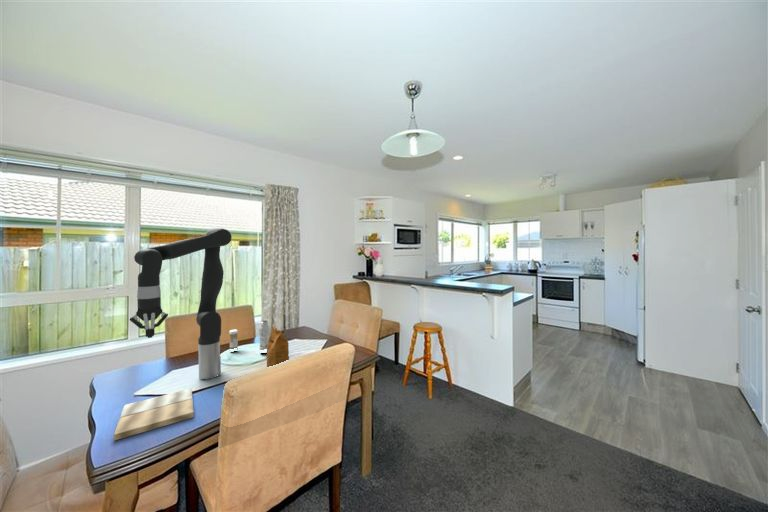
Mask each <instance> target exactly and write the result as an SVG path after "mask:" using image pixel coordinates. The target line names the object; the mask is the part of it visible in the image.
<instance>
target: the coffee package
mask: <svg viewBox="0 0 768 512" xmlns="http://www.w3.org/2000/svg"><path fill="white" fill-rule="evenodd" d="M284 333H285V331H284V330H281V329H278V328H277V327H276V326H273V327H272V330H271V331H270V337H269V340H268V346H267V354H265V355H266V368H267V367H269V366H273V365H276V364H279V363H281V362H284V361H286V360H289V361H290V356H289V350H290V349H289V346H290V345H289V341H288V339H287V338H286V337H285V335H284Z"/></svg>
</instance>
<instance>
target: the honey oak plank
mask: <svg viewBox="0 0 768 512" xmlns="http://www.w3.org/2000/svg"><path fill="white" fill-rule="evenodd" d="M193 403H194V402H193V398H192V399H190V400H186V401H182V402H178V403H174V404H171V405H167V406H163V407H159V408H155V409H152V410H148V411H144V412H140V413H136V414H133V415H129V416H125V417H121V416H120V417H121V418H120V417H119V420H118V423H117V424H116V425H117V426H116V428H115V431H114V433H113V441H117V440H120V439H124V438H127V437H131V436H132V437H133V436H135V435H138V434H141V433H144V432H148V431H152V430H154V429H158V428H161V427H164V426H168V425H171V424H175V423H179V422H182V421H185V420H189V419H192V418H194V404H193Z"/></svg>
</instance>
